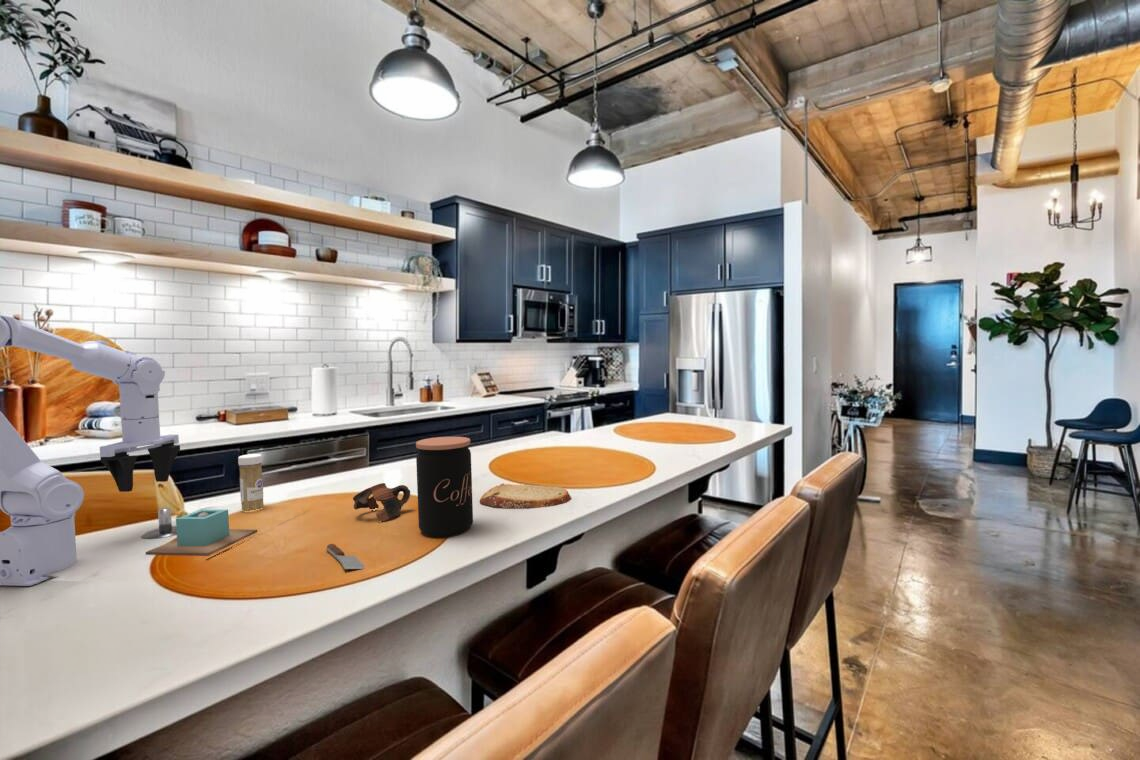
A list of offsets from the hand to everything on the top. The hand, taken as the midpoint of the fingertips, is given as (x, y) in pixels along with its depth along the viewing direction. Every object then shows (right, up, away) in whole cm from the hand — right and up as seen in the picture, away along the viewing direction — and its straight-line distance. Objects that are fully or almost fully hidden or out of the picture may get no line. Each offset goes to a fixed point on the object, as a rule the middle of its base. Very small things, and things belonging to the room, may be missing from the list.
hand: (144, 486), depth 99 cm
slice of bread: (+74, -8, +21) cm, 77 cm away
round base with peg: (+3, -10, +1) cm, 11 cm away
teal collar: (+16, -9, -5) cm, 19 cm away
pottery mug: (+43, -9, +12) cm, 46 cm away
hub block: (+16, -10, -5) cm, 19 cm away
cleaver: (+46, -11, -12) cm, 49 cm away
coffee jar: (+60, -9, +2) cm, 60 cm away
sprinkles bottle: (+12, -10, +15) cm, 22 cm away
